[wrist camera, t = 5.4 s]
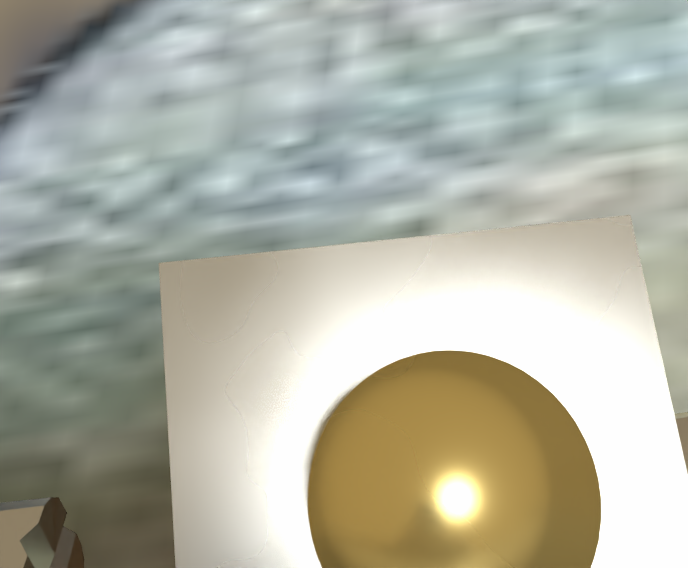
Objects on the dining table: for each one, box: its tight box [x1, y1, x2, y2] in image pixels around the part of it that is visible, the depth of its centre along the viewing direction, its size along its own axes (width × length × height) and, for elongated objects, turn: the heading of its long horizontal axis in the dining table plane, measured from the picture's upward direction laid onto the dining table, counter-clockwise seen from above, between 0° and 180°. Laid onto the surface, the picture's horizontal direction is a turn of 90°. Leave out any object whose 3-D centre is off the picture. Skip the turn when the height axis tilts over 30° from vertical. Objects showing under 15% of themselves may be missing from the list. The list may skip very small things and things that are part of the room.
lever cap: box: [159, 215, 688, 568], centre depth 10 cm, size 5×5×10 cm
